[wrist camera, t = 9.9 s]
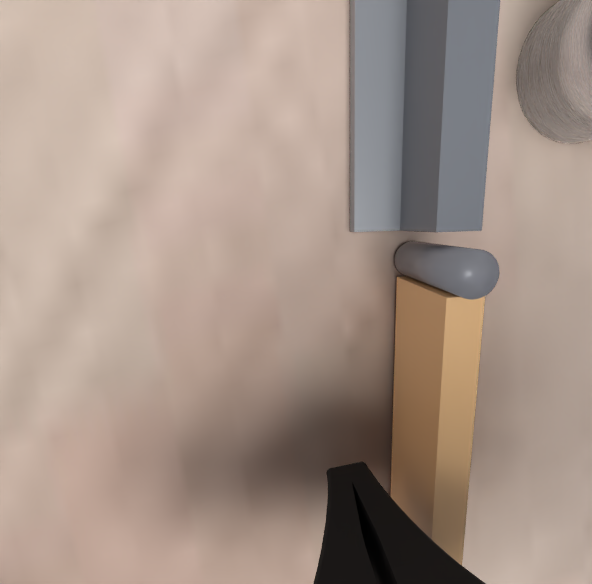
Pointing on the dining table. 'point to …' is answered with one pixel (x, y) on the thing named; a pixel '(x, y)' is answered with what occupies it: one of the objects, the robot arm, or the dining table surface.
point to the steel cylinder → (559, 73)
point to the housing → (420, 113)
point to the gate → (437, 383)
